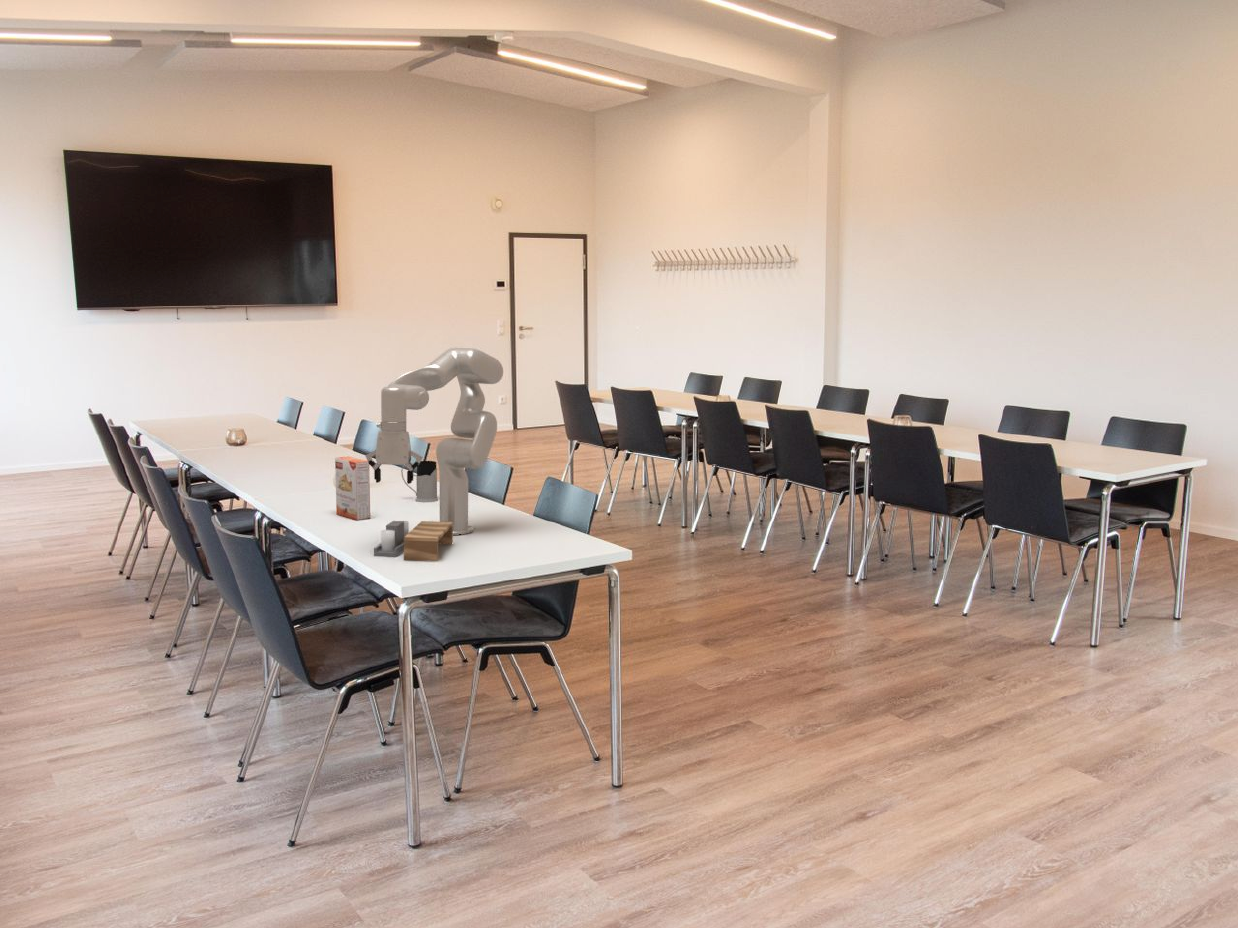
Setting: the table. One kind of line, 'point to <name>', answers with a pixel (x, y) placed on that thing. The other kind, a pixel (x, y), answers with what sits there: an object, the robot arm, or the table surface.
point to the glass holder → (425, 481)
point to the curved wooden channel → (427, 540)
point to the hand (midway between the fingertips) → (393, 482)
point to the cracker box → (352, 488)
